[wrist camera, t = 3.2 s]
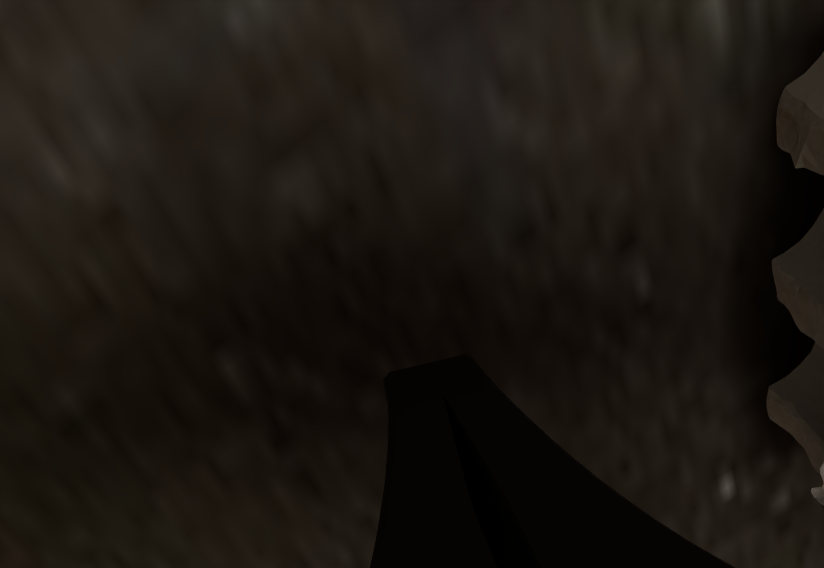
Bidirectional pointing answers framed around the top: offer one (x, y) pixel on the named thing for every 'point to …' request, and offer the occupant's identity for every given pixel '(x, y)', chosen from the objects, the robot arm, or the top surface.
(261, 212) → the top surface
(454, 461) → the robot arm
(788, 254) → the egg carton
